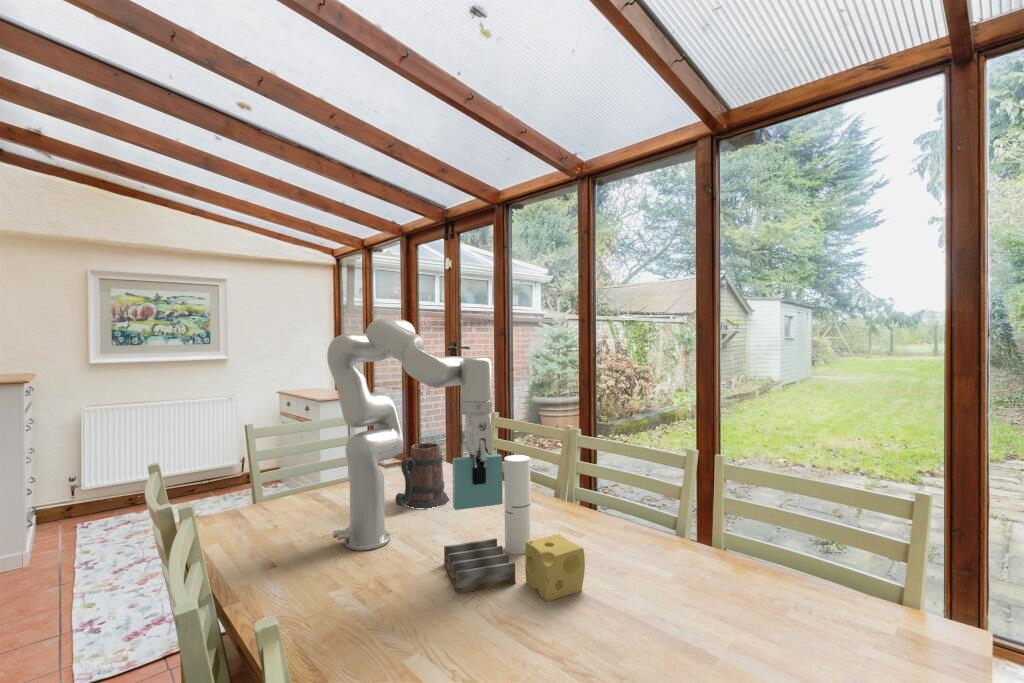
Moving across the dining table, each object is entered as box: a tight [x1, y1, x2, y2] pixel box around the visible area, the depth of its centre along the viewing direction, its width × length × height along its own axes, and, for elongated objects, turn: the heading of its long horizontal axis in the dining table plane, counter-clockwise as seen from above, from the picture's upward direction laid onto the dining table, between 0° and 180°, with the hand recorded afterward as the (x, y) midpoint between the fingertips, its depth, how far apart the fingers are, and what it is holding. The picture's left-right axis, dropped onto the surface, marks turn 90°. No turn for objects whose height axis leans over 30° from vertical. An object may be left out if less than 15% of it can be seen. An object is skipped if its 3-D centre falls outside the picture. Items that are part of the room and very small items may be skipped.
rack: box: [443, 538, 517, 595], centre depth 120 cm, size 14×16×5 cm
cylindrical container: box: [503, 454, 532, 555], centre depth 134 cm, size 7×7×25 cm
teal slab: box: [452, 453, 504, 511], centre depth 119 cm, size 12×2×12 cm, turn 109°
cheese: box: [524, 534, 586, 603], centre depth 113 cm, size 10×11×10 cm
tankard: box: [394, 442, 450, 508], centre depth 171 cm, size 24×17×20 cm
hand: (477, 481), depth 119 cm, fingers closed on teal slab, 2 cm apart
